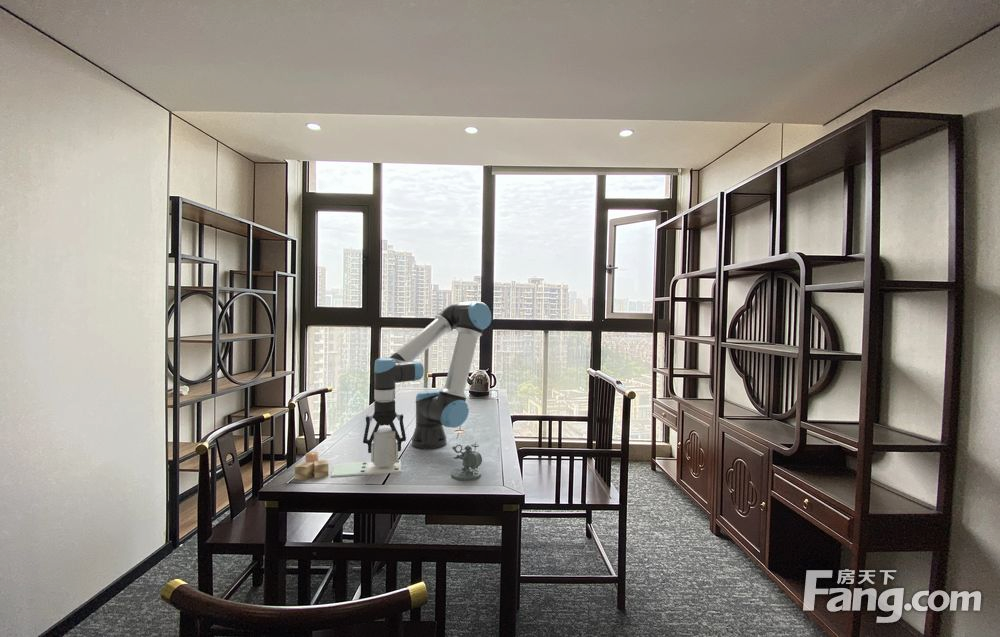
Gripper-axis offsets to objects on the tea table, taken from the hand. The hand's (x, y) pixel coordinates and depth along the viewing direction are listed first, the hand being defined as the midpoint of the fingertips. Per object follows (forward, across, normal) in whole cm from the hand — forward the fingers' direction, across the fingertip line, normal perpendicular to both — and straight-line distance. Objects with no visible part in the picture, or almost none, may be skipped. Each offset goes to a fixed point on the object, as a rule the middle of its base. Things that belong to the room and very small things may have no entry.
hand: (384, 460), depth 168 cm
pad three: (+3, +12, 0) cm, 12 cm away
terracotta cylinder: (+3, +26, -3) cm, 26 cm away
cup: (+1, 0, 0) cm, 1 cm away
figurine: (+3, -29, +13) cm, 32 cm away
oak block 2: (+3, +22, +3) cm, 22 cm away
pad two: (+3, 0, 0) cm, 3 cm away
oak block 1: (+3, +27, +4) cm, 28 cm away
